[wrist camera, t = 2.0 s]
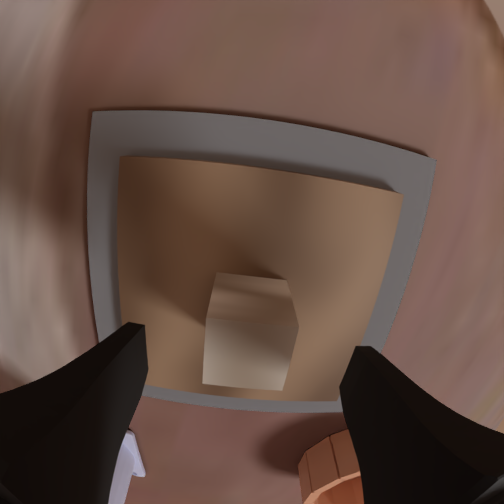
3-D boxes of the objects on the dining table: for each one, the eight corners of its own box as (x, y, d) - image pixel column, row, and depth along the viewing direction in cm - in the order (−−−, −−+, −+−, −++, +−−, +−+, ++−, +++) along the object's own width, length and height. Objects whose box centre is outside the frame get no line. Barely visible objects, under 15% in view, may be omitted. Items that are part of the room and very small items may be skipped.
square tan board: (133, 372, 16) (110, 427, 12) (127, 155, 12) (74, 162, 8) (334, 392, 16) (351, 448, 12) (395, 191, 12) (451, 213, 8)
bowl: (288, 482, 21) (292, 517, 18) (317, 426, 18) (327, 471, 15) (379, 473, 22) (388, 503, 18) (424, 415, 19) (442, 450, 15)
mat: (110, 382, 17) (108, 387, 16) (97, 112, 11) (92, 111, 11) (351, 406, 18) (352, 411, 17) (431, 159, 12) (436, 159, 12)
